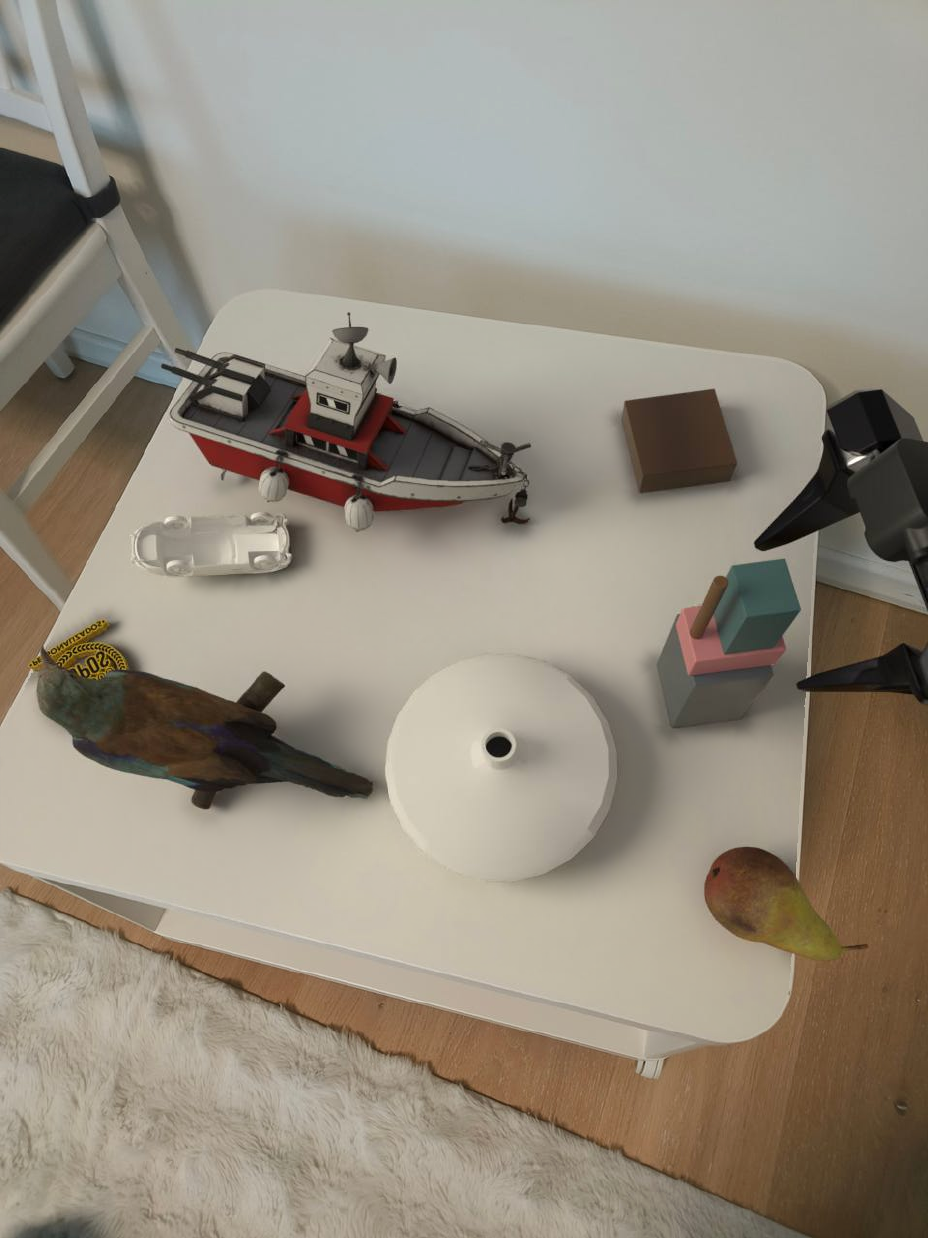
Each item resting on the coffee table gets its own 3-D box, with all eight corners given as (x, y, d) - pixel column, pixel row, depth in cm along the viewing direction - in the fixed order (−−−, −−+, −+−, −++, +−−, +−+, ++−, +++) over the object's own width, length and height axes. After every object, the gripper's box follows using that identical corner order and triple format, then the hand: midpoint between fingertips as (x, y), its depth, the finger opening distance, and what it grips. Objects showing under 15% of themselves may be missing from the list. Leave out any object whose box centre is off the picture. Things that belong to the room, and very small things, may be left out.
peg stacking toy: (760, 612, 54) (805, 539, 46) (775, 664, 53) (825, 599, 44) (675, 624, 54) (704, 553, 46) (687, 676, 53) (720, 613, 44)
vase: (396, 897, 57) (380, 885, 51) (386, 678, 64) (371, 642, 57) (629, 876, 57) (643, 860, 50) (595, 658, 63) (604, 619, 57)
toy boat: (214, 405, 76) (200, 218, 62) (532, 507, 75) (588, 340, 62) (142, 501, 68) (108, 310, 54) (498, 616, 67) (554, 452, 54)
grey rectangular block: (723, 655, 63) (753, 603, 54) (740, 719, 61) (774, 675, 52) (656, 664, 63) (676, 613, 55) (671, 728, 61) (694, 686, 52)
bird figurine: (399, 714, 61) (180, 585, 47) (359, 850, 58) (108, 754, 44) (278, 707, 69) (60, 595, 55) (236, 826, 66) (-8, 739, 52)
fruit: (753, 868, 49) (916, 990, 49) (743, 815, 54) (890, 925, 55) (689, 925, 51) (846, 1042, 51) (686, 869, 56) (828, 976, 57)
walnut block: (708, 407, 72) (714, 387, 70) (730, 481, 69) (737, 463, 66) (621, 419, 72) (624, 400, 70) (639, 493, 69) (643, 476, 67)
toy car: (287, 507, 68) (286, 528, 71) (128, 514, 65) (135, 535, 68) (292, 561, 66) (291, 580, 69) (129, 570, 63) (136, 590, 66)
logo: (103, 616, 66) (147, 695, 63) (107, 620, 67) (151, 698, 64) (26, 663, 65) (67, 745, 62) (31, 666, 66) (72, 748, 63)
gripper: (942, 264, 39) (663, 440, 49) (1121, 636, 31) (746, 755, 41) (1019, 360, 46) (762, 497, 56) (1180, 682, 38) (849, 773, 48)
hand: (777, 614), depth 50 cm, fingers open, 9 cm apart
